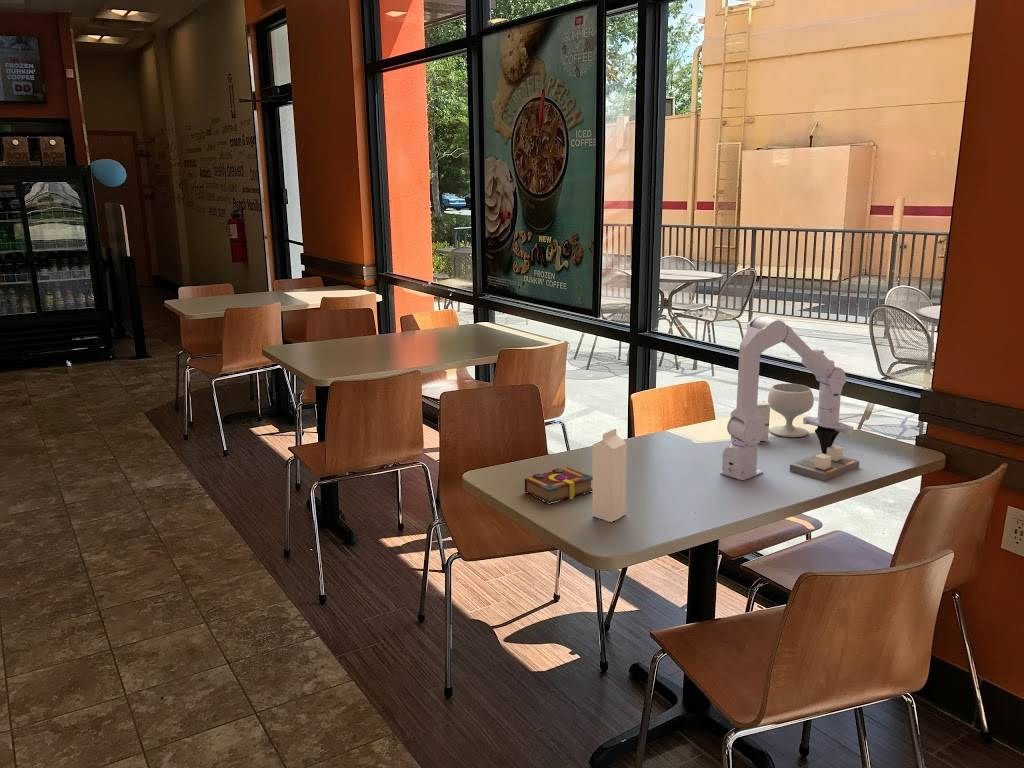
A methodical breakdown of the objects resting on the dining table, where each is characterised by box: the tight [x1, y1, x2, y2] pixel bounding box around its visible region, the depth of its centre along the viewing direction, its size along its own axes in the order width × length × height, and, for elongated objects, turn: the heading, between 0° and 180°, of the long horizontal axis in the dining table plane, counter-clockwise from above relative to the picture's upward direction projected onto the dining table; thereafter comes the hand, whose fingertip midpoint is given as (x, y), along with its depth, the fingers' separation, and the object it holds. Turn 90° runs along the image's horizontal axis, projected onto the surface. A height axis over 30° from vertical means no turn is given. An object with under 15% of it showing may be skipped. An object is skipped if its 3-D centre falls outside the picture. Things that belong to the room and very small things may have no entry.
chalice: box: [767, 383, 815, 438], centre depth 266 cm, size 14×14×15 cm
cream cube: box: [827, 444, 844, 461], centre depth 235 cm, size 3×3×3 cm
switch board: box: [789, 452, 860, 482], centre depth 234 cm, size 17×11×2 cm, turn 128°
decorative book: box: [524, 467, 593, 503], centre depth 221 cm, size 11×16×5 cm
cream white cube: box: [814, 453, 831, 470], centre depth 229 cm, size 3×3×3 cm
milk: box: [592, 428, 627, 521], centre depth 202 cm, size 6×6×22 cm
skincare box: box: [757, 400, 771, 442], centre depth 260 cm, size 6×4×12 cm
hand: (825, 452), depth 238 cm, fingers closed
